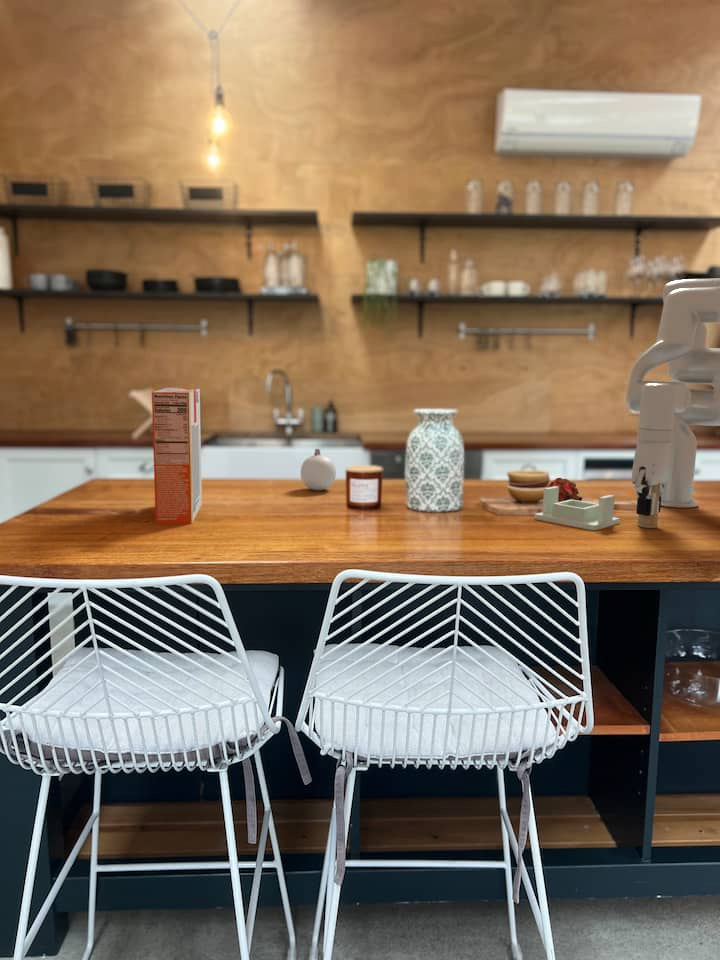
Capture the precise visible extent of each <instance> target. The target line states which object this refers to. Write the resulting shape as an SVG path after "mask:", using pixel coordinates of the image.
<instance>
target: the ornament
mask: <svg viewBox="0 0 720 960" xmlns="http://www.w3.org/2000/svg"><path fill="white" fill-rule="evenodd" d="M336 474H337V470H336V465H335V464H334V461H332V459H330V458H329V457H328V456H325V455H322V454H321V451H320V448H315V449H314V455H311V456H309V457H306V459H305V460H304V461H303V463H302V465H301V467H300V479H301V482H302V483H303V484H304V486H305V487H307V488H308V489H310V490H313V491H324V490H327V489H328V488H330V487H331V486H332V485H333V484H334V483H335V479H336V476H337V475H336Z"/></svg>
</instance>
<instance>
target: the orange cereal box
mask: <svg viewBox="0 0 720 960" xmlns="http://www.w3.org/2000/svg"><path fill="white" fill-rule="evenodd" d="M200 393H201V391H200V388H199V387H195V388H194V387H190V388H189V387H166V388H162V389H159V390H155V391H153V392H151V407H152V408H151V409H152V410H151V412H152V414H151V415H152V418H151V419H152V442H153V443H152V449H153V475H154V476H153V478H154V480H153V482H154V509H155V511H154V513H155V514H154V515H155V516H154V517H155V525H192V523H193V522H194V520H195V519H196V516H197V514H198V512H199V510H200V508H201V507H202V505H203V494H202V492H203V489H202V444H201V443H202V440H201V439H202V438H201V432H202V431H201V399H200V398H201V394H200Z"/></svg>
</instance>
